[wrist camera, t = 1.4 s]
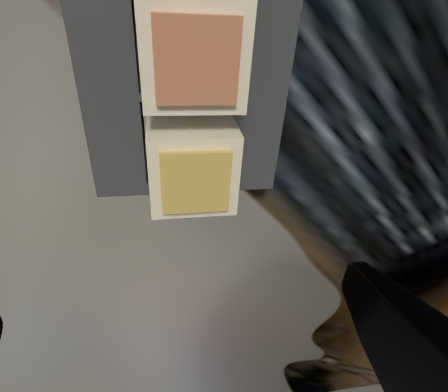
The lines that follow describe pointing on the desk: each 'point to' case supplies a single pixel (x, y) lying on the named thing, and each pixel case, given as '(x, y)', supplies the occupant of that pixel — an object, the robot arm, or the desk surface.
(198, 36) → the key
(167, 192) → the key
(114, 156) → the keypad base
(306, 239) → the desk surface
